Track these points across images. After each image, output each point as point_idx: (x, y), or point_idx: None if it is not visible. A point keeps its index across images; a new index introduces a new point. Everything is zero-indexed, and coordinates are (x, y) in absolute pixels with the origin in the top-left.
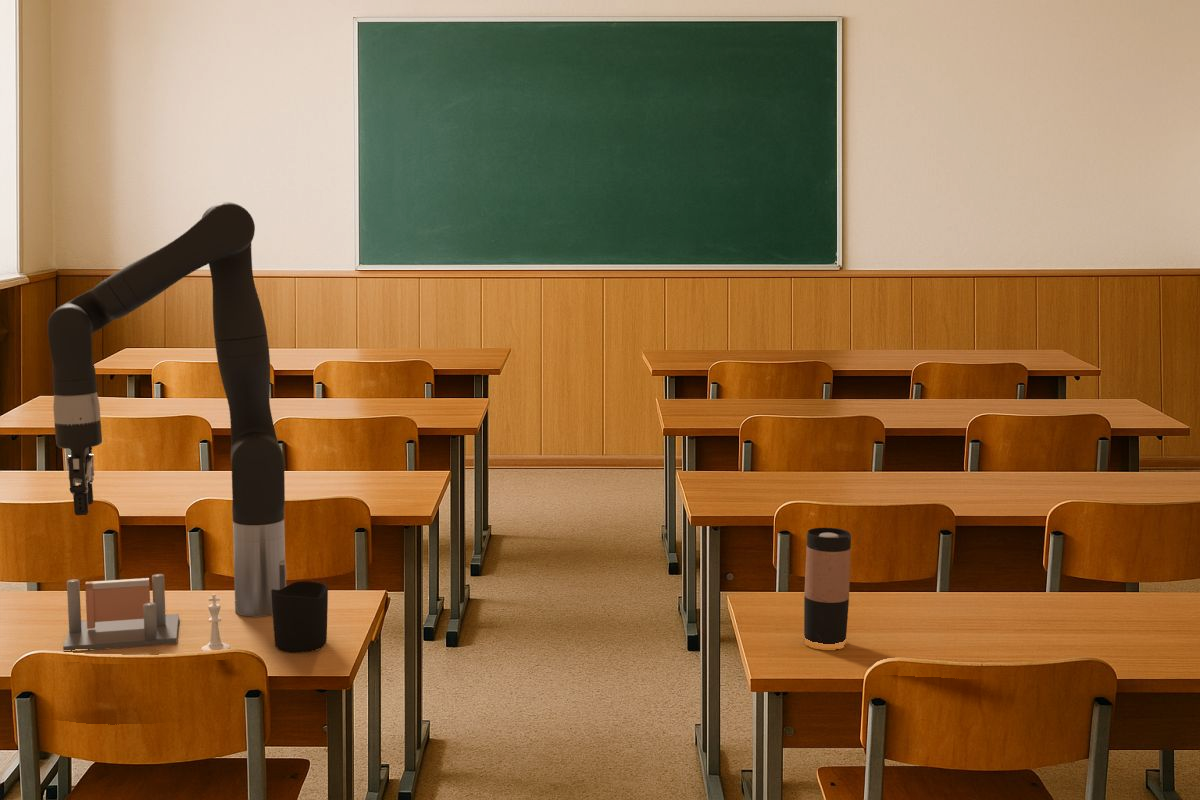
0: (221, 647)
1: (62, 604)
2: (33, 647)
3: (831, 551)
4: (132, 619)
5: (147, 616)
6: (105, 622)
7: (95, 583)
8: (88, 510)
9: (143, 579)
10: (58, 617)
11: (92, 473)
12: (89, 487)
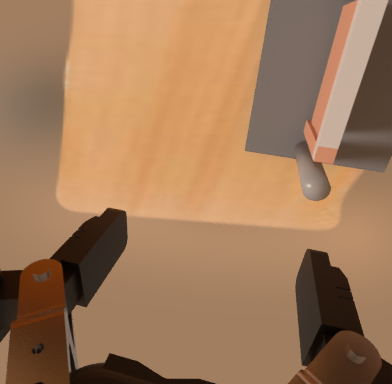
0: None
1: (123, 154)
2: (325, 203)
3: None
4: (280, 47)
5: None
6: (276, 99)
7: (339, 142)
8: (313, 254)
9: (373, 14)
10: (187, 163)
11: (65, 317)
12: (89, 261)
